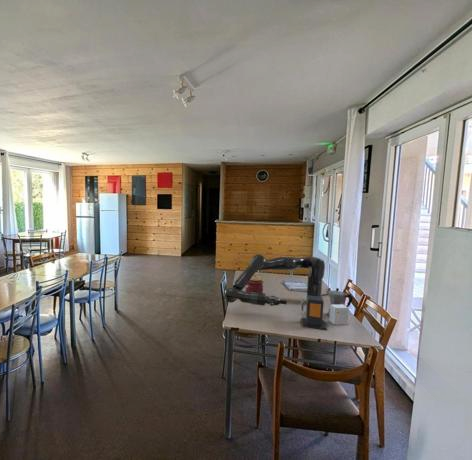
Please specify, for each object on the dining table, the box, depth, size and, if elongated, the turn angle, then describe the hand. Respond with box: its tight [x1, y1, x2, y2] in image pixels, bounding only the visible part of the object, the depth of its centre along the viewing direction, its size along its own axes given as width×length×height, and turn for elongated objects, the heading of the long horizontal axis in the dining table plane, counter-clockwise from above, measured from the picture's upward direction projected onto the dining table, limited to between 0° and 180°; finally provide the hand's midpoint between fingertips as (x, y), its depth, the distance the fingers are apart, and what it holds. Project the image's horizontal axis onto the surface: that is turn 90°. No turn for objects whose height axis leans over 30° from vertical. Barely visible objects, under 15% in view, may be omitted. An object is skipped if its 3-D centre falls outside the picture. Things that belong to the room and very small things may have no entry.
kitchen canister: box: [245, 273, 264, 293], centre depth 221 cm, size 13×13×18 cm
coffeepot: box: [325, 287, 354, 317], centre depth 183 cm, size 15×9×18 cm, turn 43°
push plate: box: [300, 298, 305, 312], centre depth 173 cm, size 6×1×5 cm, turn 158°
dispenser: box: [301, 294, 327, 331], centre depth 171 cm, size 12×12×16 cm
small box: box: [329, 303, 349, 326], centre depth 173 cm, size 8×6×10 cm
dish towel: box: [282, 280, 307, 292], centre depth 247 cm, size 17×24×3 cm
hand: (286, 302), depth 176 cm, fingers closed
